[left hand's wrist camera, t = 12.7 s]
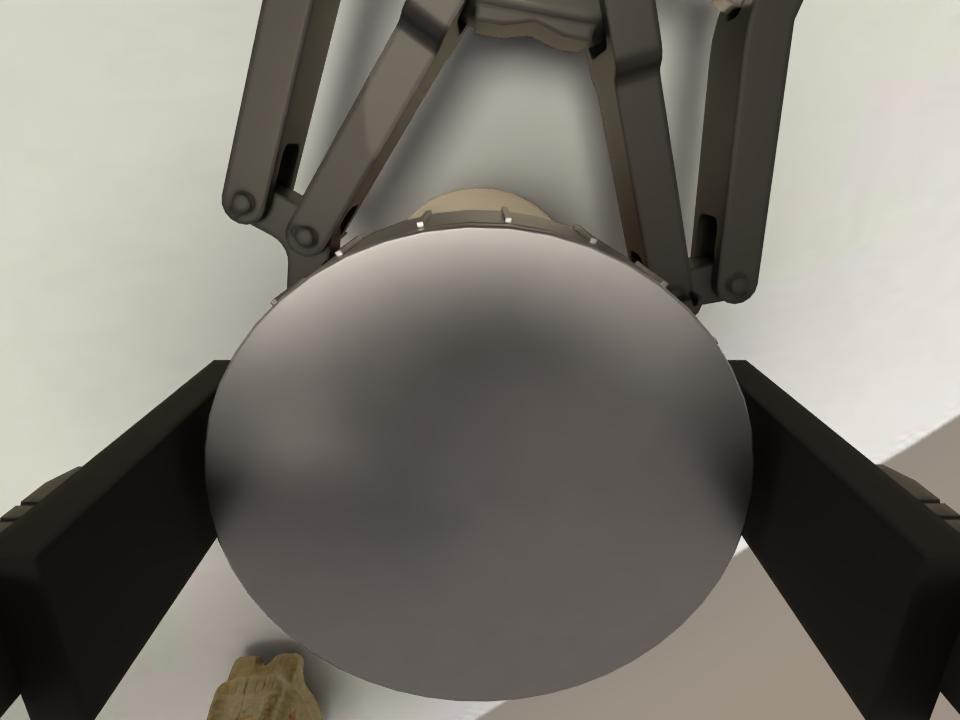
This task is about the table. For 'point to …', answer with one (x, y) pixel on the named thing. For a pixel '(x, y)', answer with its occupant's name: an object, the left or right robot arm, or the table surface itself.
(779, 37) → the right robot arm
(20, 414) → the table surface
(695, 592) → the lid
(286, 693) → the sculpture
